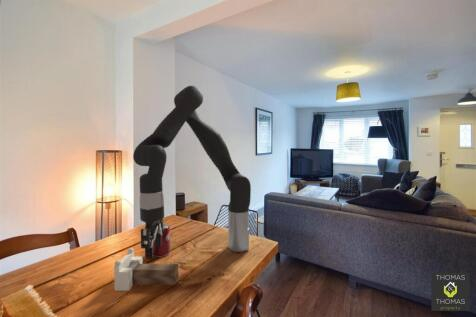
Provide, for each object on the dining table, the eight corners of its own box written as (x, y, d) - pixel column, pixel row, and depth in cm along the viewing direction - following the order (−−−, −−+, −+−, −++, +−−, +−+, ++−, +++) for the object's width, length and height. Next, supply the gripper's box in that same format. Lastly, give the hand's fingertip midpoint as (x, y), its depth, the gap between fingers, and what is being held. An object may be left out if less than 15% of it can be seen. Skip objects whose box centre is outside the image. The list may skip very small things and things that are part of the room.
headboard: (142, 272, 84) (142, 247, 83) (128, 290, 73) (128, 261, 73) (130, 272, 84) (129, 247, 83) (114, 290, 74) (113, 261, 73)
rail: (178, 277, 81) (178, 263, 81) (175, 284, 77) (174, 269, 76) (132, 277, 81) (132, 262, 81) (126, 284, 77) (126, 269, 76)
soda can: (153, 259, 94) (152, 230, 93) (151, 251, 100) (150, 224, 100) (171, 255, 97) (171, 227, 96) (168, 248, 104) (167, 222, 103)
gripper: (148, 200, 84) (150, 243, 85) (130, 211, 70) (133, 263, 70) (169, 199, 84) (171, 243, 85) (155, 210, 70) (157, 263, 71)
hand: (153, 252), depth 78 cm, fingers open, 8 cm apart
